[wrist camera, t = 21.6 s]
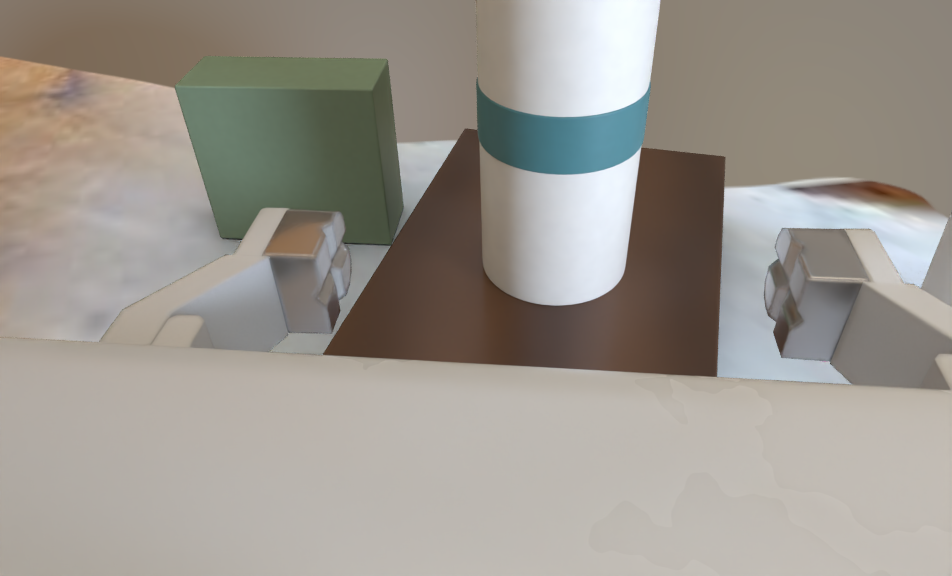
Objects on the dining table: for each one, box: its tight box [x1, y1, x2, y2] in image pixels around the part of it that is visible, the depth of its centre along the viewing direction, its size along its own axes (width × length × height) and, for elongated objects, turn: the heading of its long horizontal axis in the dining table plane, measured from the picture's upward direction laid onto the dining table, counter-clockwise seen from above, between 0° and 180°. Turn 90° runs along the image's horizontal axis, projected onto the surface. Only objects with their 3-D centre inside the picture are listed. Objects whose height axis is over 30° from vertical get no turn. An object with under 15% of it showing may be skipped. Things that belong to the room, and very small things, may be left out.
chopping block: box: [323, 129, 725, 377], centre depth 30 cm, size 13×20×4 cm, turn 164°
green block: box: [175, 56, 404, 245], centre depth 36 cm, size 4×9×8 cm, turn 84°
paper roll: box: [476, 0, 660, 306], centre depth 24 cm, size 13×6×13 cm
